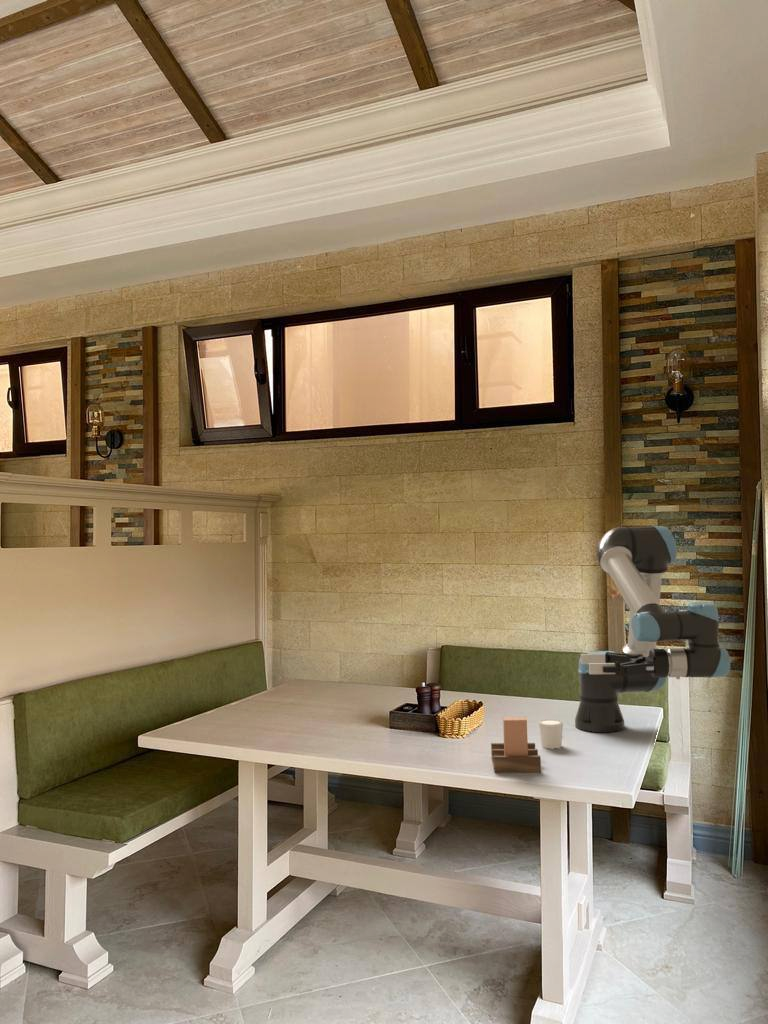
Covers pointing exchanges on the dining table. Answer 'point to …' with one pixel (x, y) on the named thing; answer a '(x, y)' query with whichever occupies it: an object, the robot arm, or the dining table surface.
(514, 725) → the tile
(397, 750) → the dining table surface
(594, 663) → the robot arm
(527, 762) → the rack
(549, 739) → the white cup
